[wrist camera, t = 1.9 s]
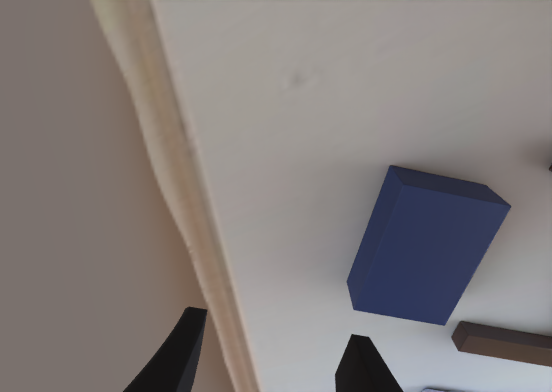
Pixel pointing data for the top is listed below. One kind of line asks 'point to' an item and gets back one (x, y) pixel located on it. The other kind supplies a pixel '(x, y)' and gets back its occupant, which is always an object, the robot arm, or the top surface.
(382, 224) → the tea packet
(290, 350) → the top surface
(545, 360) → the bay
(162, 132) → the top surface
